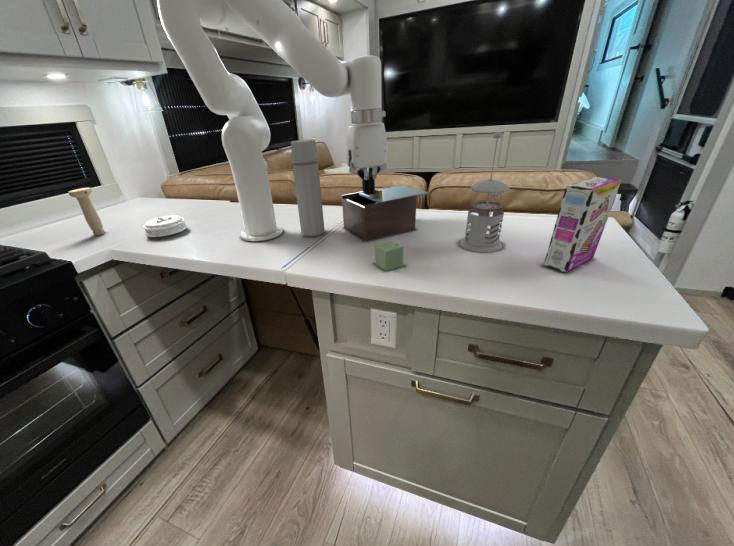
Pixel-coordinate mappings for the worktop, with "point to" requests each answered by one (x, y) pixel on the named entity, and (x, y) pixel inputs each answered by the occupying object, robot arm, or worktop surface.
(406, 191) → the sliding box cover
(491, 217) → the french press
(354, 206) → the walnut box
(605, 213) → the candy bar box
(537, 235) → the worktop surface
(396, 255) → the block
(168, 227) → the lid
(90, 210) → the handle
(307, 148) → the water bottle
